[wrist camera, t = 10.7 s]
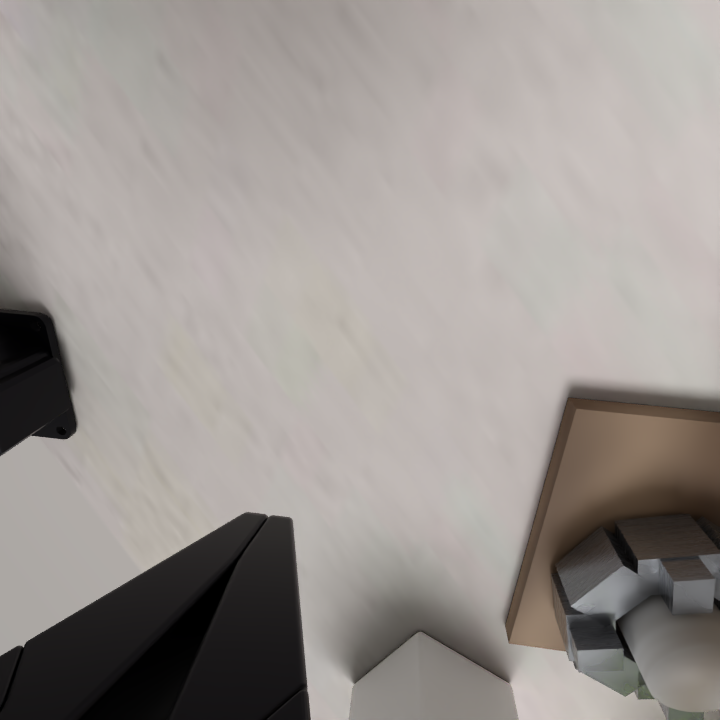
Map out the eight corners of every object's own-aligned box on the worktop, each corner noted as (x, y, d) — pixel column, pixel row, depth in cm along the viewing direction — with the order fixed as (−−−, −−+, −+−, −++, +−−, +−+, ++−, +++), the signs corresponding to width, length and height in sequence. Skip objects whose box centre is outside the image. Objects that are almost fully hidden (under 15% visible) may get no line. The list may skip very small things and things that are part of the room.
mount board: (505, 625, 24) (529, 739, 20) (568, 397, 19) (624, 476, 14) (711, 654, 24) (791, 780, 19) (842, 424, 18) (1005, 517, 13)
